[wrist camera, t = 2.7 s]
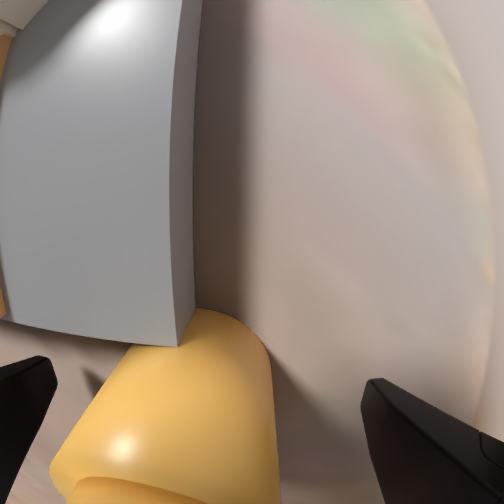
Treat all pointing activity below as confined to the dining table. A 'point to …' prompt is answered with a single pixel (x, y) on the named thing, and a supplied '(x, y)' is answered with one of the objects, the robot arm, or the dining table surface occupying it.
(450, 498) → the robot arm
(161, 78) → the plate
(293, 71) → the dining table surface
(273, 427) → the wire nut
